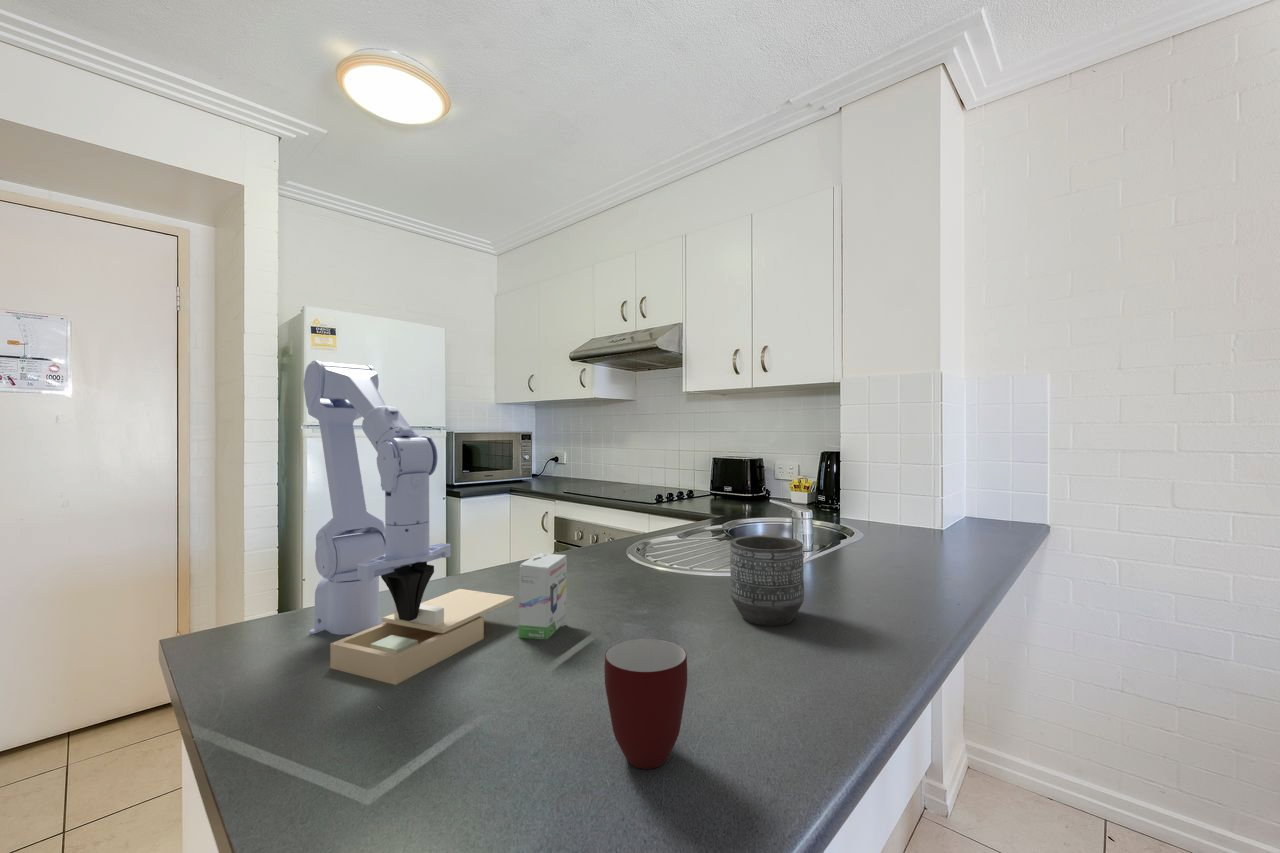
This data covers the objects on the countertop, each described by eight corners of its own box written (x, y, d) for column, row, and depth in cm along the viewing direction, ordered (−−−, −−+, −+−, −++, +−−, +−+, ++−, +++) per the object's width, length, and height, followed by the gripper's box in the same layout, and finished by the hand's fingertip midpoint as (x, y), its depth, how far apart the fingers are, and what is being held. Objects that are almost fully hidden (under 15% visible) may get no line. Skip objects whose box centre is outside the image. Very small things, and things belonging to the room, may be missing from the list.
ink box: (538, 623, 89) (538, 552, 89) (568, 624, 88) (567, 553, 88) (516, 643, 81) (516, 564, 81) (549, 645, 80) (548, 566, 80)
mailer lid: (382, 621, 78) (382, 603, 78) (459, 592, 92) (459, 577, 92) (442, 633, 73) (442, 614, 73) (513, 600, 88) (513, 584, 88)
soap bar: (370, 662, 72) (370, 643, 72) (391, 652, 76) (391, 634, 76) (397, 668, 70) (396, 649, 70) (418, 658, 73) (417, 640, 74)
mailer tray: (330, 673, 71) (330, 643, 71) (424, 632, 85) (424, 607, 85) (395, 691, 66) (395, 658, 66) (483, 643, 80) (483, 617, 80)
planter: (812, 612, 93) (811, 539, 93) (792, 636, 82) (790, 553, 82) (746, 601, 99) (745, 532, 99) (719, 621, 89) (718, 544, 89)
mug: (592, 728, 57) (591, 635, 57) (663, 716, 59) (662, 626, 60) (617, 792, 47) (616, 677, 47) (701, 773, 49) (700, 665, 50)
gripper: (384, 533, 67) (385, 641, 67) (466, 516, 80) (466, 606, 80) (345, 529, 70) (346, 633, 70) (430, 513, 83) (431, 601, 83)
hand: (408, 618), depth 75 cm, fingers closed
